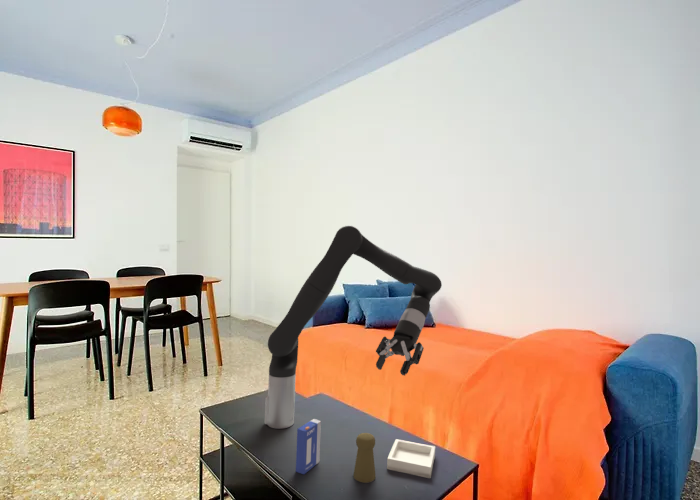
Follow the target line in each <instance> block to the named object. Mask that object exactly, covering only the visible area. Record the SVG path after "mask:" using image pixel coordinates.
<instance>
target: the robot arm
mask: <svg viewBox="0 0 700 500" xmlns="http://www.w3.org/2000/svg"><path fill="white" fill-rule="evenodd" d="M353 255H354V256H357V257H360V258H362V259H364V260H365V261H367V262H369V263H371V264H372V265H374V266H375V267H376V268H378V269H379V270H381V271H382V272H383V273H385V274H387V275H388V276H390V277H391V278H393V279H394V280H396V281H398V282H399V283H401V284H403V285H408V284H414V287H413V289H412V293H411V296H410V299H409V302H408V304H407V306H406V307H405V310H404V311H403V313H402V314H401V315H400V319H399V320H398V323H397V324H396V325H397V326H396V327H395V330H394V332H393V336H392V337H391V338H387V337H386V336H383V337H382V339H381V340H380V342H379V344H378V346H377V348H376V349H375V353H376V354H377V355H378V358H377V361H376V362H375V363H376V364H375V365H376V366H375V367H376V368H377V369H378V370H380V371H381V370H382V369H383V367H384V365H385V363H386V360H387V359H388V358H389V357H393V356H394V355H396V356H401V357H405V360H404V362H403V363H402V366H401V367H400V370H399V373H400V374H401V376H404V377H406V375H407V374H408V373H409V370H410V368H411V366H412V365H418V364H419V363H420V360H421V358H422V355H423V352H424V350H425V349H424V346H423V344H422V343H421V342H420V341H419V342H418V340H419V337H420V335H421V334H422V330H423V329H424V326H425V322H426V319H427V316H428V314H429V312H430V308H431V304H430V302H431V300H432V298H433V297H434V296H435V295H436V294H437V293H439V291H441V288H442V281H441V279H440V277H439V276H438V275H436V274H435V273H434V272H432V271H430V270H426V269H424V268H421V267H418V266H417V267H416V266H414V265H412V264H410V263H408V262H407V261H406V260H404V259H402V258H400V257H399V256H397V255H394V254H393V253H392V252H391V253H390V252H389V251H387V250H384V249H383V248H381V247H379V246H378V245H376V244H375V243H373V242H372V241H370V240H369V239H368V237H366V236H364V235H363V234H362V232H360V230H359V229H358V228H357V227H355V226H353V225H345V226H342V227H340V228H339V229H338V230H337V231H336V233H335V235H334V238H333V239H332V242H331V244H330V246H329V248H328V249H327V251H326V253H325V255H324V256H323V258H322V259H321V260H320V262H319V263H318V264H317V265H316V266H315V268H314V269H313V270H312V272H311V273H310V275H309V276H308V277H307V279H306V280H305V282H303V283H304V284H303V285H302V286H301V287H300V290H299V291H298V293H297V295H296V296H295V298H294V300H293V301H292V304H291V306H290V308H289V310H288V312H287V313H286V315H285V317H284V318H283V319H282V321H280V322H279V324H278V326H276V328H275V329H274V331H272V332H271V333H270V336H269V337H268V340H267V347H268V351H269V352H270V354H271V358H270V359H271V360H270V362H269V367H268V388H267V390H268V391H267V392H268V393H267V395H265V398H264V399H265V404H264V425H267V426H268V427H269V428H272V429H280V430H281V429H286V428H287V429H288V428H290V427H292V426H293V424H294V423H295V404H296V403H295V400H296V376H297V375H296V373H297V372H296V371H297V366H298V365H297V364H298V356H299V355H298V354H299V337H300V335H301V333H302V332H303V329H304V328H305V327H306V325H307V324H308V322H310V320H311V319H312V318H313V317H314V316H315V314H316V313H317V312H318V311H319V310H320V308H321V307H322V306H323V304H324V302H325V301H326V300H327V298H328V297H329V295H330V294H331V293H332V290H333V288H334V287H335V285H336V283H337V280H338V278H339V276H340V274H341V271H342V270H343V268H344V266H345V265H346V264H347V263H348V261H349V260H350V258H351V257H352V256H353ZM413 350H414V351H413ZM411 351H413V354H411Z"/></svg>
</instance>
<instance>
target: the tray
mask: <svg viewBox="0 0 700 500" xmlns="http://www.w3.org/2000/svg"><path fill="white" fill-rule="evenodd" d="M435 458H436V446H435V445H430V444H423V443H418V442H413V441H408V440H403V439H397V438H395V440H394V442H393V444H392V447H391V449H390V452H389V454H388V457H387V459H386V460H387V461H386V469H387V470H390V471H393V472H399V473H403V474H407V475H412V476H417V477H422V478H427V479H431V478H432V474H433V468H434V465H435V463H434V462H435V460H436V459H435Z"/></svg>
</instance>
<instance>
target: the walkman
mask: <svg viewBox="0 0 700 500" xmlns="http://www.w3.org/2000/svg"><path fill="white" fill-rule="evenodd" d="M321 426H322V421H321V420H319V419H316V418H313V419H311V420H309V421H308V422H306V423H304V424H303V425H302V426H299V427H298V428H297V430H296V431H297V432H296V451H295V452H296V453H295V455H296V458H295V460H296V461H295V472H296V473H298V474H301V475H306V474H307V472H309V471H311V469H313V468H314V467H316V465H318V464H319V463H320V459H321V458H320V453H321V434H322V433H321V431H322V430H321V428H322V427H321Z"/></svg>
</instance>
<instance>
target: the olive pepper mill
mask: <svg viewBox="0 0 700 500" xmlns="http://www.w3.org/2000/svg"><path fill="white" fill-rule="evenodd" d="M355 439H356V440H355V442H356V443H355V444H356V447H357V451H356V456H355V457H356V458H355V464H354V471H353V475H352V477H353V479H355V480H356V481H358V482H360V483H365V484H367V483H372V482H373V481H375V480H376V467H375V456H374V455H375V454H374V453H375V452H374V447H375V446H376V438H375V436H374V435H373V434H372V433H370V432H362V433H359V434H358V435H357V437H356V438H355Z"/></svg>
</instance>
